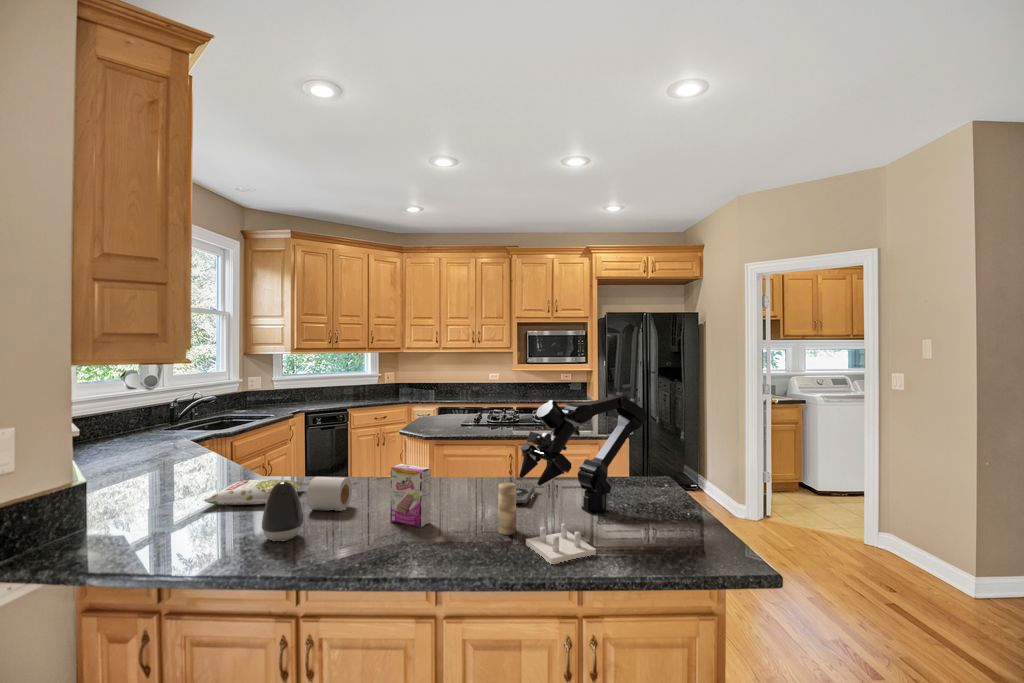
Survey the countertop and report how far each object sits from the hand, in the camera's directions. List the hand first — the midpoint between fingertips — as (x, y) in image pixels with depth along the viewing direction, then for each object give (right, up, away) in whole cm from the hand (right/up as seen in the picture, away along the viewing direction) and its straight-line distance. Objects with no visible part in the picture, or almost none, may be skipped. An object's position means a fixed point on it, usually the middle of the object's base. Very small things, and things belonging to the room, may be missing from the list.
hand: (529, 480), depth 145 cm
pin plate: (+7, -13, -16) cm, 22 cm away
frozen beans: (-90, -13, +22) cm, 94 cm away
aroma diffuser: (-67, -13, -10) cm, 69 cm away
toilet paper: (-63, -13, +13) cm, 65 cm away
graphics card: (-4, -14, +26) cm, 29 cm away
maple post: (-6, -13, -4) cm, 15 cm away
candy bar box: (-35, -13, +2) cm, 37 cm away
